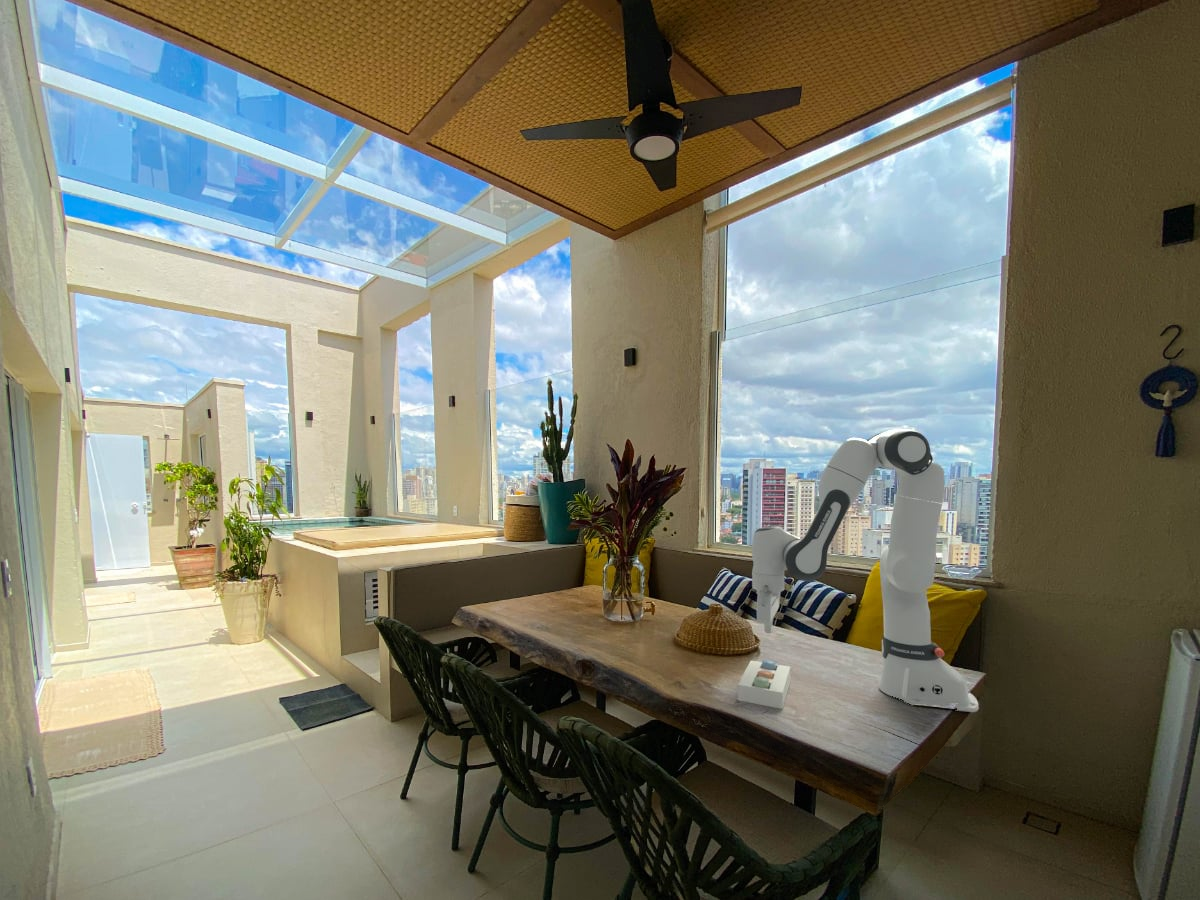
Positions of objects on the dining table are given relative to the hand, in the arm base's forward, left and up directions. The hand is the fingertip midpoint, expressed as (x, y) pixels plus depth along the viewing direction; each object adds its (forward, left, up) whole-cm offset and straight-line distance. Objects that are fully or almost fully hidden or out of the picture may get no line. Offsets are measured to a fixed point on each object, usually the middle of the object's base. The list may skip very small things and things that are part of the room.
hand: (768, 631), depth 146 cm
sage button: (0, +14, -12) cm, 18 cm away
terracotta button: (0, +7, -12) cm, 14 cm away
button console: (0, +7, -14) cm, 16 cm away
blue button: (0, 0, -12) cm, 12 cm away
